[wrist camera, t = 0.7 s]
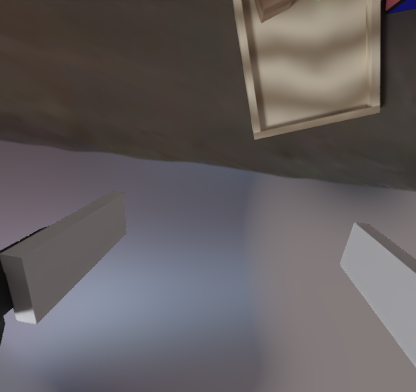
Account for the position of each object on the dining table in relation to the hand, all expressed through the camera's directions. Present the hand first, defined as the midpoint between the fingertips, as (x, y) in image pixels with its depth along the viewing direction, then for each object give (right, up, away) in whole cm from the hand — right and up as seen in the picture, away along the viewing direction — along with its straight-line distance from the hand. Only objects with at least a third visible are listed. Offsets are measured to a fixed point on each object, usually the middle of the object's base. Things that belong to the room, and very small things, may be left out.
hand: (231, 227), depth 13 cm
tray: (+13, +23, +19) cm, 33 cm away
